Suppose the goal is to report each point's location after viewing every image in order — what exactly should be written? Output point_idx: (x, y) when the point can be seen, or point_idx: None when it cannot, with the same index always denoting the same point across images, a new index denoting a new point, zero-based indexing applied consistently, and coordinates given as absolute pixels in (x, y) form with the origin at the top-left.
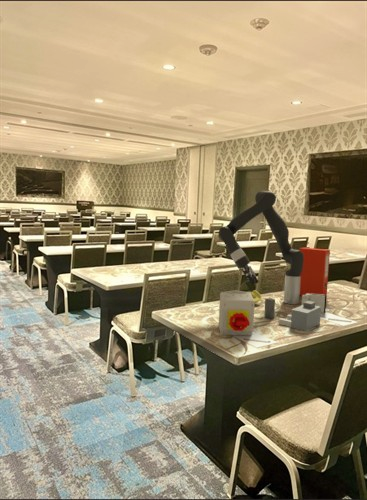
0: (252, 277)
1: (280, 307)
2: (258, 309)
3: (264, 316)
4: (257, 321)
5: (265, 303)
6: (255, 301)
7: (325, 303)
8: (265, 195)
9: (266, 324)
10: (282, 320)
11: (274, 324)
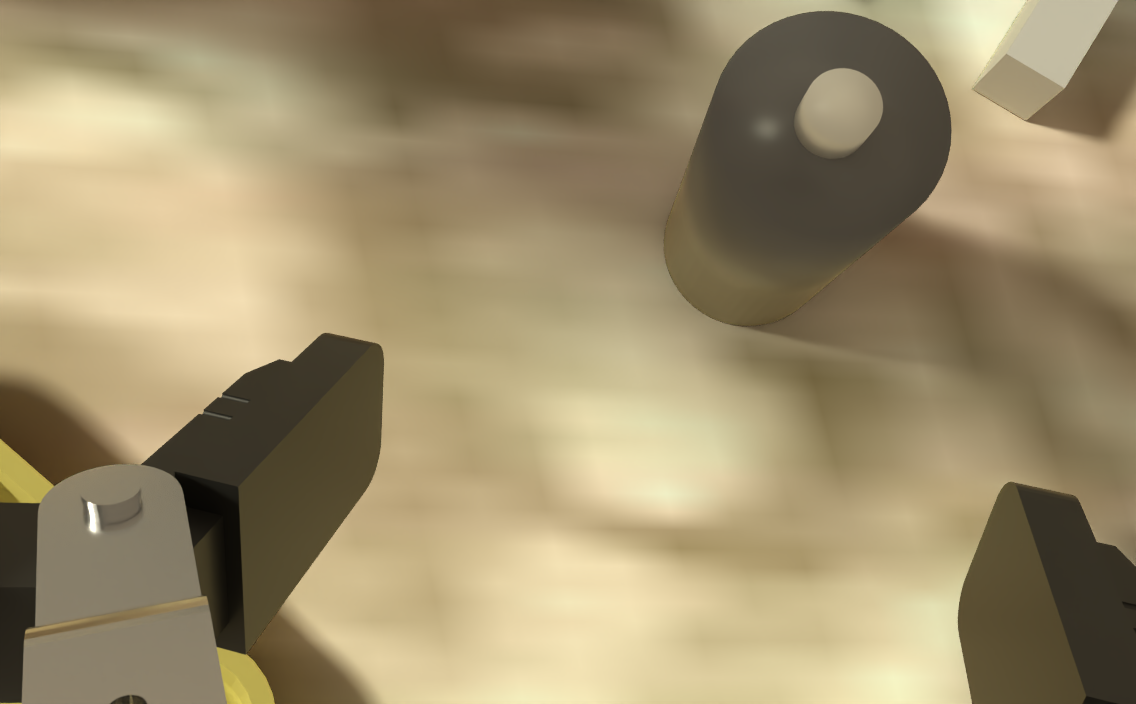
0: (1093, 683)
1: (67, 10)
2: None
3: (773, 319)
4: (1007, 448)
5: (860, 253)
6: (18, 456)
7: None
8: None
9: (1121, 309)
10: (1091, 40)
11: (1082, 186)
